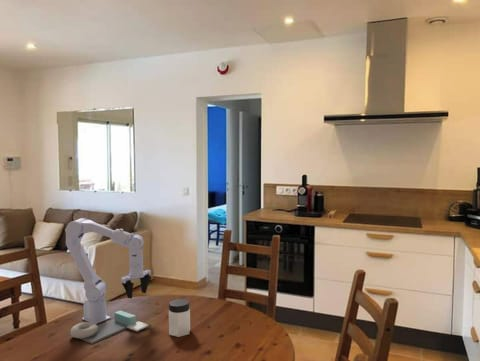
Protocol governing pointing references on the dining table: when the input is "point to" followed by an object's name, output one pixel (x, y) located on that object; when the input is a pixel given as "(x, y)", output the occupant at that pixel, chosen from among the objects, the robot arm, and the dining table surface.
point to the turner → (129, 320)
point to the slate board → (105, 331)
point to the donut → (84, 330)
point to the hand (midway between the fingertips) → (137, 295)
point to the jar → (179, 317)
